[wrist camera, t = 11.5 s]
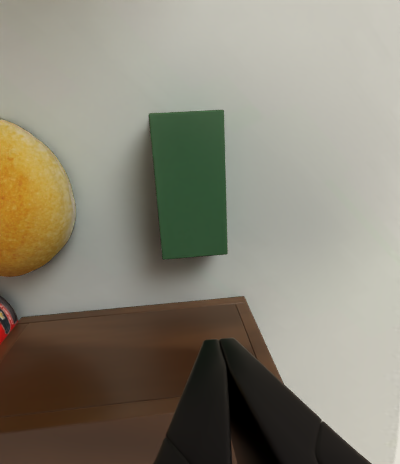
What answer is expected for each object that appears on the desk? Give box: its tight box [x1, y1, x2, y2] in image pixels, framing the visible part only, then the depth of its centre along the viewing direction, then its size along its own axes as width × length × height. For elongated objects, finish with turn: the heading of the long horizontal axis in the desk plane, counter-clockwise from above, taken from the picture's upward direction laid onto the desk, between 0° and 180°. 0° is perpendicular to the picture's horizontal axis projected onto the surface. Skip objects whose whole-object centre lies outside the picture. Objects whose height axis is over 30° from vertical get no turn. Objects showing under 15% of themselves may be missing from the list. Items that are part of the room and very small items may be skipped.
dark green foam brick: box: [149, 110, 227, 260], centre depth 17 cm, size 8×4×3 cm, turn 3°
